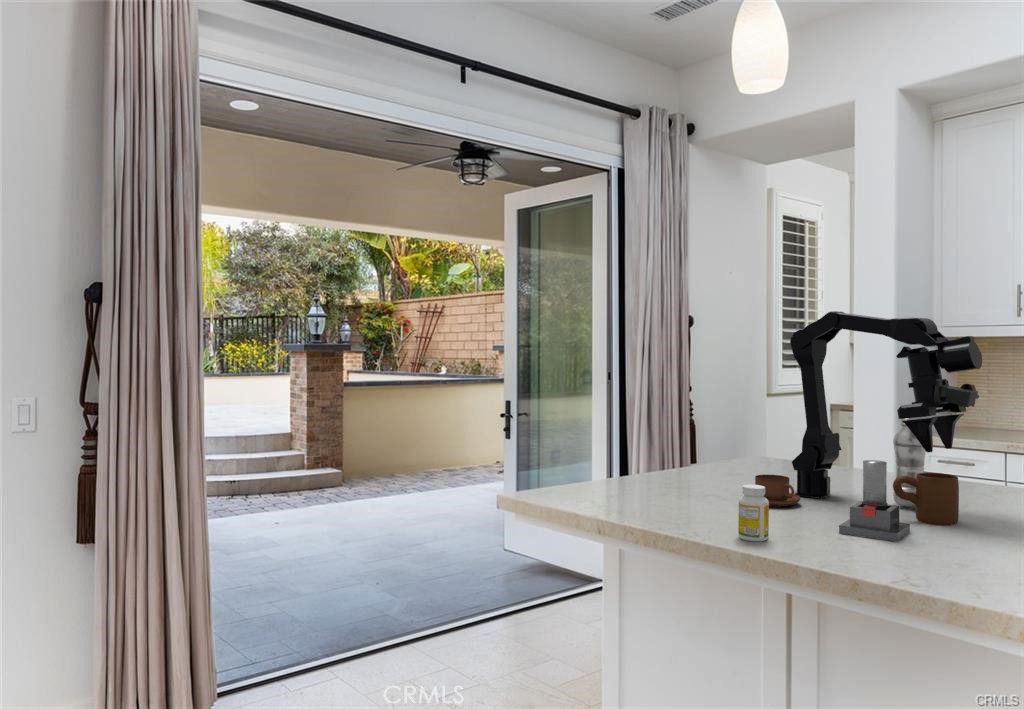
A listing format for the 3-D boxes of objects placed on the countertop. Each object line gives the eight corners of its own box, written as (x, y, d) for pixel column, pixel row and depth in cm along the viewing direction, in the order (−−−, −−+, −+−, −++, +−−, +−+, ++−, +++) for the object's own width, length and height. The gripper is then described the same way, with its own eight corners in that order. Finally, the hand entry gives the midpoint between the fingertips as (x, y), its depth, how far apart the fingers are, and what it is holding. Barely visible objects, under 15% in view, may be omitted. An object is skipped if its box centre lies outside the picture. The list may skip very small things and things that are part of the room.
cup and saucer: (809, 504, 169) (809, 476, 169) (787, 512, 160) (787, 483, 160) (758, 497, 177) (758, 471, 177) (735, 504, 169) (735, 477, 169)
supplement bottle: (748, 542, 135) (748, 489, 135) (732, 535, 140) (732, 484, 140) (774, 540, 136) (775, 488, 136) (758, 533, 141) (758, 483, 141)
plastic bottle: (932, 511, 161) (932, 418, 160) (897, 510, 162) (898, 418, 162) (921, 505, 167) (922, 416, 167) (889, 504, 168) (889, 415, 168)
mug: (898, 524, 149) (898, 477, 149) (887, 515, 157) (888, 470, 157) (964, 527, 146) (964, 479, 146) (951, 518, 154) (951, 473, 154)
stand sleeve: (839, 533, 142) (839, 504, 141) (854, 523, 149) (854, 496, 149) (896, 541, 135) (897, 511, 135) (909, 531, 143) (909, 502, 143)
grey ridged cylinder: (859, 523, 142) (859, 461, 142) (865, 519, 145) (865, 459, 145) (884, 527, 139) (884, 464, 139) (890, 523, 142) (890, 461, 142)
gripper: (947, 371, 145) (962, 451, 143) (985, 369, 157) (999, 444, 155) (890, 379, 154) (903, 455, 152) (930, 377, 166) (943, 447, 164)
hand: (939, 450), depth 155 cm, fingers open, 9 cm apart
